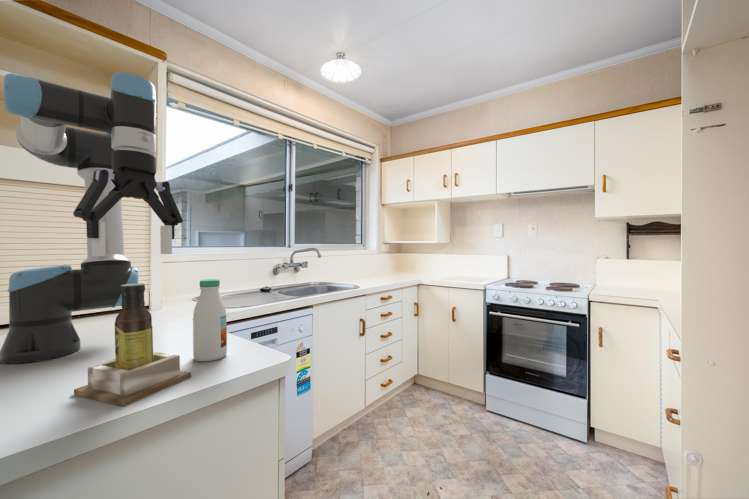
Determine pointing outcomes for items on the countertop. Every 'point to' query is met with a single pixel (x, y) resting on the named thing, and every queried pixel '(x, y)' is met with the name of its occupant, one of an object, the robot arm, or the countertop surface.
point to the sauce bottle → (133, 329)
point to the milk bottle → (209, 323)
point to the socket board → (131, 380)
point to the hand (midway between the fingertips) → (135, 255)
